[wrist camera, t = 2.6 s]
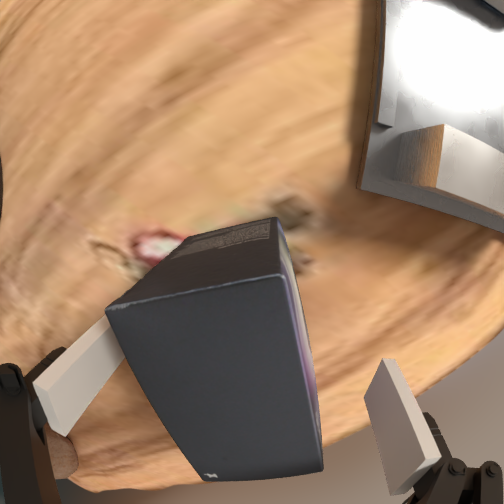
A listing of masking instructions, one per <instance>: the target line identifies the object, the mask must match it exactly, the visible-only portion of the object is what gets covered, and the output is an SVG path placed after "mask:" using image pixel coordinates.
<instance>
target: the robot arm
mask: <svg viewBox="0 0 504 504" xmlns="http://www.w3.org/2000/svg"><path fill="white" fill-rule="evenodd" d="M1 206H2V167H1V158H0V215H1ZM124 358H125V355H124V353H123V351H122V349H121V347H120V345H119V343H118V341H117V339H116V336H115V334H114V332H113V330H112V328H111V326H110V324H109V321H108V319H107V317H106V314H105V315H104V316H103V317H102V318H101V319H99V320H98V321H97V322H96V323H95V324H94V325H93V326H92V327H91V328H90V329H88V330H87V331H86V332H85V333H84V334H83V335H82V336H81V337H80V338H79V339H78V340H76V341H75V342H74V343H73V344H72V345H71V346H70V347H69V348H68V349H66V348H64V347H60V348H58V349H55V350H53V351H52V352H51V353H49V354H48V355H47V356H46V358H44V359H43V360H42V361H41V362H40V363H39V364H37V365H36V366H35V367H34V368H33V369H32V370H31V371H30V372H29V373H28V374H27V375H26V376H25V377H23V374H22V372H21V369H20V368H19V367H18V366H17V365H15V364H12V363H5V364H2V365H0V465H1V466H0V467H1V476H2V484H3V491H4V497H5V503H6V504H62V503H61V499H60V496H59V493H58V489H57V485H56V481H55V477H54V473H53V469H52V464H51V459H50V454H49V449H48V444H47V437H46V431H45V428H44V425H45V423H46V422H47V421H48V423H49V425H50V427H51V429H52V430H54V431H56V432H57V433H59V434H61V435H63V436H65V437H66V436H67V434H68V433H69V432H70V430H71V429H72V427H73V426H74V425H75V423H76V422H77V421H78V419H79V418H80V416H81V415H82V414H83V412H84V411H85V410H86V408H87V407H88V406H89V404H90V403H91V402H92V400H93V399H94V398H95V396H96V395H97V394H98V392H99V391H100V390H101V388H102V387H103V386H104V384H105V383H106V382H107V380H108V379H109V378H110V376H111V375H112V374H113V373H114V371H115V370H116V369H117V367H118V366H119V365H120V363H121V362H122V361H123V360H124ZM364 400H365V404H366V407H367V410H368V414H369V417H370V420H371V424H372V427H373V431H374V434H375V438H376V442H377V445H378V449H379V453H380V456H381V460H382V464H383V468H384V472H385V476H386V480H387V484H388V488H389V492H390V496H392V495H399V494H405V493H406V492H408V491H409V489H411V488H412V487H413V488H414V491H415V492H414V493H413V494H412V495H411V496H410V497H409V498H408V499H406V500H405V501H404V502H403V503H402V504H406V503H407V504H503V478H502V470H501V467H500V466H499V465H498V464H497V463H496V462H494V461H487V462H485V463H484V464H483V465H482V466H481V467H480V468H467V466H466V465H465V463H464V462H463V461H461V460H460V459H457V458H452V456H451V454H450V451H449V449H448V447H447V445H446V443H445V440H444V438H443V436H442V435H441V432H440V430H439V429H438V426H437V424H436V422H435V420H434V419H433V418H432V417H431V415H429V413H426V412H425V413H422V412H421V410H420V408H419V406H418V404H417V402H416V399H415V397H414V395H413V393H412V391H411V389H410V387H409V385H408V383H407V381H406V379H405V378H404V376H403V374H402V372H401V370H400V368H399V366H398V364H397V362H396V360H395V359H385V358H382V360H381V362H380V365H379V367H378V369H377V371H376V373H375V375H374V378H373V380H372V382H371V384H370V386H369V388H368V390H367V392H366V394H365V396H364Z"/></svg>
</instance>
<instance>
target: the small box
mask: <svg viewBox="0 0 504 504" xmlns="http://www.w3.org/2000/svg"><path fill="white" fill-rule="evenodd" d="M105 314H106V317H107V319H108V321H109V324H110V326H111V328H112V330H113V332H114V334H115V336H116V339H117V341H118V343H119V345H120V347H121V349H122V351H123V353H124V355H125V357H126V359H127V361H128V363H129V365H130V367H131V369H132V371H133V373H134V375H135V377H136V378H137V380H138V382H139V384H140V386H141V388H142V389H143V391H144V393H145V395H146V397H147V398H148V400H149V402H150V403H151V405H152V407H153V408H154V410H155V412H156V413H157V415H158V417H159V418H160V420H161V421H162V423H163V425H164V426H165V428H166V429H167V431H168V432H169V434H170V435H171V437H172V438H173V440H174V441H175V443H176V444H177V446H178V447H179V449H180V450H181V451H182V453H183V454H184V456H185V457H186V458H187V460H188V461H189V463H190V464H191V465H192V467H193V468H194V469H195V471H196V472H197V473H198V474H199V476H200V477H201V479H202V480H203V481H207V482H215V481H218V482H223V481H250V480H265V479H274V478H283V477H291V476H299V475H306V474H311V473H317V472H322V471H323V469H324V467H323V449H322V435H321V423H320V413H319V404H318V395H317V387H316V379H315V372H314V365H313V358H312V352H311V347H310V341H309V335H308V330H307V325H306V321H305V316H304V311H303V307H302V302H301V298H300V294H299V289H298V285H297V281H296V276H295V272H294V268H293V264H292V260H291V257H290V253H289V249H288V246H287V242H286V239H285V236H284V233H283V230H282V227H281V224H280V221H279V219H278V218H277V217H272V218H267V219H263V220H258V221H252V222H249V223H244V224H239V225H236V226H231V227H227V228H223V229H218V230H214V231H210V232H206V233H202V234H197V235H194V236H189V237H187V238H186V239H185V241H184V242H183V243H182V244H181V245H180V246H178V248H176V249H174V250H173V251H172V252H171V254H169V255H168V256H167V257H165V258H164V259H163V260H162V261H161V262H160V263H159V264H157V265H156V266H155V267H154V268H153V269H152V270H150V271H149V272H148V273H147V274H146V275H145V276H144V278H143V279H140V280H139V281H138V282H137V283H136V284H135V285H134V286H133V287H132V288H131V289H129V290H128V291H126V292H125V293H124V294H123V295H122V296H121V297H120V298H118V299H117V300H115V301H114V302H112V303H111V304H110V305H109V306H107V307H106V308H105Z"/></svg>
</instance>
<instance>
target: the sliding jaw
mask: <svg viewBox="0 0 504 504" xmlns="http://www.w3.org/2000/svg"><path fill="white" fill-rule="evenodd" d="M484 1H485V2H487V3H488V4H490V5H491V6H492V7H494V8H495V9H497V10H498V11H500V12H501V13H502V14H504V0H484Z"/></svg>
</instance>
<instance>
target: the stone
mask: <svg viewBox="0 0 504 504" xmlns="http://www.w3.org/2000/svg"><path fill="white" fill-rule="evenodd" d="M44 428H45V431H46V437H47V444H48V449H49V454H50V459H51V464H52V469H53V473H54V477H55V479H66V478H67V477H69V476H70V475H71V474H73V473H74V472H75V471H76V470H77V468H78V464H79V463H78V458H77V454H76V452H75V450H74V447H73V444H72V443H71V442H70V441H69V440H68V439H67V438H66V437H65V436H63V435H61V434H59V433H57V432H56V431H54V430H52V429H51V427H50V426H49V424H48V423H47V422H46V423H45V425H44Z"/></svg>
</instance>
